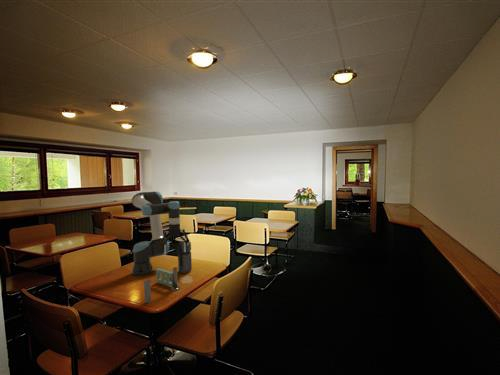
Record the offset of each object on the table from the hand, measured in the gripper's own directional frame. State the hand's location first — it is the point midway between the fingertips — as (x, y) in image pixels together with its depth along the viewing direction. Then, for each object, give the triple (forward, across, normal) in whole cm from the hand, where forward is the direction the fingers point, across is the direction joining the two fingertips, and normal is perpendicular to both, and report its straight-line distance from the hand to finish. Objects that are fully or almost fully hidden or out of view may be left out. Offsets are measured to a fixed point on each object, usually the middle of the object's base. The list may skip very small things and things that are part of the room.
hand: (175, 253), depth 174 cm
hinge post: (+21, +2, +11) cm, 24 cm away
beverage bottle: (+21, -10, -16) cm, 29 cm away
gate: (+20, +7, +2) cm, 21 cm away
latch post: (+21, +20, +22) cm, 36 cm away
